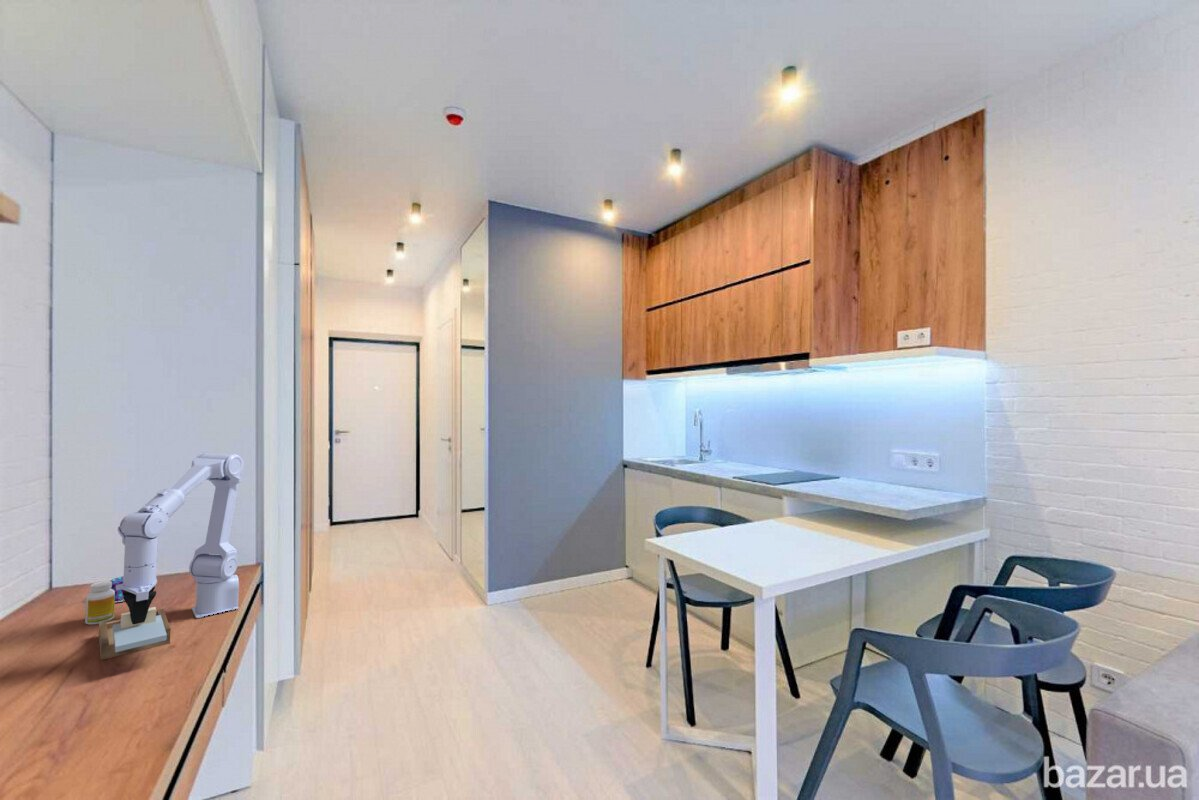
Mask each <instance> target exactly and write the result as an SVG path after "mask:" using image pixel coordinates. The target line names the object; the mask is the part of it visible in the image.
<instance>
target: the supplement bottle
mask: <svg viewBox="0 0 1199 800" xmlns="http://www.w3.org/2000/svg"><path fill="white" fill-rule="evenodd" d="M111 587H112V582H111V580H103V581H97V582H94V583H92V584H90V588H89V591H90V592H89V593H87V595H86V598H85V610H84V611H85V613H84V623H85V624H86V625H89V626H90V625H99V622H103V621H106V622H111V620H113V619H114V617H115V603H116V601H115V591H114V590H113V589H110V588H111Z"/></svg>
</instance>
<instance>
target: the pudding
mask: <svg viewBox="0 0 1199 800" xmlns="http://www.w3.org/2000/svg"><path fill="white" fill-rule="evenodd" d="M123 576H124V575H123ZM123 576H119V577H114V578H113V579H111V580H110V581H111V582H112V587H111V588H110V589H113V590H114V591H115V602H117V601H118V602H117V603H120V602H123V594H122V591H124V590H116V585H119V584H123ZM120 600H121V601H120Z"/></svg>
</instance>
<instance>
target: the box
mask: <svg viewBox="0 0 1199 800" xmlns="http://www.w3.org/2000/svg"><path fill="white" fill-rule="evenodd" d="M158 615H161V617H162V621H163V624H164V627H165V631H166V634H167V640H165V641H160V642H156V643H152V644H148V645H144V646H140V647H136V648H131V649H127V650H123V651H119V652H115V645H114V637H113V625H115V624H120V623H121V618H120V619H117V620H116V619H115V620H112V621H111V620H110V621H107V622H106V621H103V622H99V624H98V645H99V656H100V657H99V658H100V661H103V660H106V659H107V660H108V659H111V658H115V657H119V656H123V655H124V656H125V655H127V654H131V653H135V652H139V651H143V650H147V649H151V648H155V647H160V646H163V645H167V644H171V629H172V628H171V626H170V623H169V621H168V617H167V615H166V611H165V610H164V608H162V609H156V616H158Z"/></svg>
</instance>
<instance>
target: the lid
mask: <svg viewBox="0 0 1199 800" xmlns="http://www.w3.org/2000/svg"><path fill="white" fill-rule="evenodd" d="M156 612H157V607H156V606H151V607H149V609H148V613H147V616H146V619H145V622H142V623H138V624H132V621H131V616H130V611H127V612H124V613H120V619H121V623H120V624H115V625H113V637H114V645H115V652H119V651H123V650H127V649H131V648H136V647H140V646H144V645H148V644H152V643H156V642H160V641H165V640H167V634H166V631H165V627H164V624H163V621H162V617H161V615H158V616H156Z"/></svg>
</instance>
